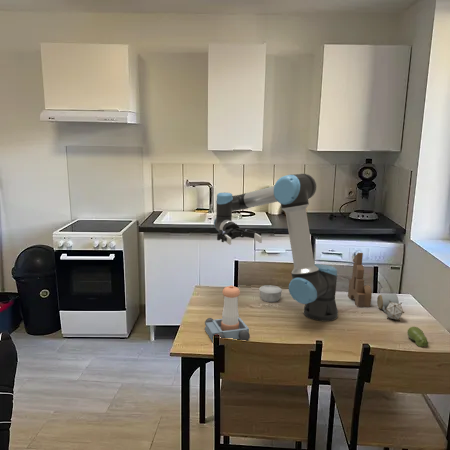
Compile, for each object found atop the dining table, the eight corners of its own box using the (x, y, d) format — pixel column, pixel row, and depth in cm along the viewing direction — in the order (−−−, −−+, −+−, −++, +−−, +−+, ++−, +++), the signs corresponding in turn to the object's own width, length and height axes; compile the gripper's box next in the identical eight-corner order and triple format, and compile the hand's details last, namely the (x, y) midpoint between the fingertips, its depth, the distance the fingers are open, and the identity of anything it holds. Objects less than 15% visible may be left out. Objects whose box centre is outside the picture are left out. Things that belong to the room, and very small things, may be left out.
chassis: (237, 323, 186) (237, 314, 185) (250, 340, 171) (251, 331, 170) (203, 327, 181) (203, 318, 180) (214, 345, 166) (214, 335, 165)
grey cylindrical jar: (375, 305, 209) (377, 290, 207) (392, 306, 209) (394, 291, 207) (382, 315, 199) (384, 299, 197) (400, 315, 199) (402, 300, 197)
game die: (395, 325, 196) (410, 309, 195) (395, 326, 188) (410, 309, 187) (379, 312, 200) (393, 295, 199) (378, 312, 192) (393, 295, 191)
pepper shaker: (218, 332, 174) (219, 287, 170) (224, 325, 181) (225, 281, 177) (235, 335, 172) (237, 289, 168) (241, 328, 179) (242, 284, 175)
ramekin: (279, 294, 220) (279, 285, 219) (283, 303, 209) (283, 293, 208) (257, 294, 220) (257, 284, 219) (260, 303, 209) (260, 292, 208)
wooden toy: (371, 307, 207) (376, 256, 202) (357, 307, 207) (362, 256, 202) (359, 295, 222) (363, 248, 217) (346, 295, 222) (350, 248, 217)
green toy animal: (418, 323, 177) (433, 338, 168) (415, 334, 179) (430, 350, 170) (406, 324, 176) (420, 339, 167) (403, 335, 178) (417, 350, 169)
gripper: (254, 236, 205) (272, 247, 185) (203, 238, 198) (216, 250, 178) (255, 220, 204) (273, 230, 184) (204, 222, 196) (217, 233, 176)
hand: (245, 240), depth 181 cm, fingers open, 13 cm apart
